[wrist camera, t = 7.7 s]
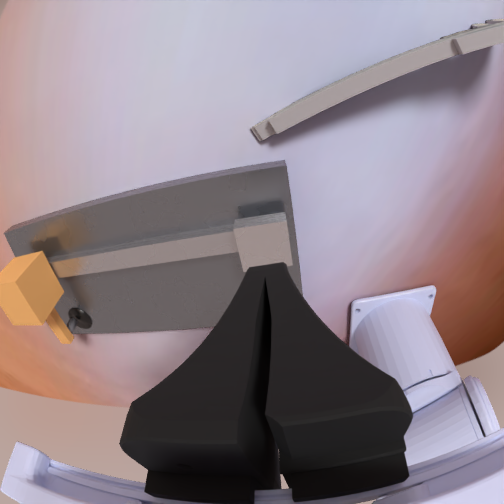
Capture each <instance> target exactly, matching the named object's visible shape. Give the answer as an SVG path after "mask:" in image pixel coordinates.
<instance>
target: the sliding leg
mask: <svg viewBox="0 0 504 504" xmlns="http://www.w3.org/2000/svg"><path fill="white" fill-rule="evenodd" d="M63 293H64V290H63V288H62V287H61V285H60V283H59V281H58V279H57V278H56V276H55V274H54V272H53V270H52V268H51V266H50V264H49V262H48V261H47V259H46V257H45V255H44V253H43V251H39V252H35V253H31V254H27V255H23V256H19V257H15V258H13V259H12V260H11V261H10V263H9V264H8V265H7V266H6V267H5V268H4V269H3V270H2V271H1V272H0V306H1V307H2V309H3V310H4V312H5V313H6V315H7V316H8V318H9V319H10V321H11V322H12V324H13V325H43V324H44V322H45V320H46V322H47V323H48V325H49V326H50V328H51V329H52V330H53V332H54V333H55V335H56V336H57V337H58V339H59V340H60V342H61V343H62V344H71V343H72V341H73V339H74V336H73V335H72V333H73V332H74V330H75V328H76V326H77V324H78V321H77V319H75V318H73V317H71V318H70V319H69V321H68V323H67V325H65V323H64V322H63V320H62V319H61V317H60V315H59V314H58V312H57V311H56V309H55V308H54V307H55V305H56V304H57V302H58V301H59V299H60V298H61V296H62V295H63Z"/></svg>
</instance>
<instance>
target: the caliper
mask: <svg viewBox="0 0 504 504" xmlns="http://www.w3.org/2000/svg"><path fill="white" fill-rule="evenodd" d="M486 23H487V24H482V23H480V24H473V25H472V28H473V29H469V30H465V31H461V32H457V33H454V34H451V35H448V36H444V37H441V38H440V40H437V41H434V42H431V43H428V44H426V45H423V46H420V47H417V48H414V49H412V50H409V51H406V52H404V53H401V54H399V55H396V56H394V57H391V58H389V59H386V60H384V61H381V62H379V63H376V64H374V65H372V66H369V67H367V68H365V69H363V70H360V71H358V72H356V73H354V74H351V75H349V76H347V77H345V78H343V79H340V80H338V81H336V82H334V83H332V84H330V85H328V86H326V87H324V88H322V89H320V90H318V91H316V92H314V93H312V94H310V95H308V96H306V97H304V98H302V99H300V100H298V101H296V102H294V103H292V104H291V105H289V106H287V107H285V108H283V109H282V110H280V111H278V112H277V113H275V114H273V115H271V116H270V117H269V118H267V119H265V120H263V121H262V122H260V123H258V124H256V125H255V126H253V127H252V128H251V130H252V131H253V133H254V134H255V135H256V137H257V138H258V140H259V141H262V140H264V139H266V138H268V137H270V136H272V135H273V134H275V133H277V134H279V133H280V132H282V131H284V130H286V129H288V128H290V127H292V126H294V125H296V124H298V123H300V122H302V121H304V120H305V119H307V118H309V117H311V116H313V115H315V114H317V113H319V112H322V111H324V110H326V109H328V108H330V107H332V106H334V105H336V104H338V103H340V102H342V101H345V100H347V99H349V98H351V97H353V96H355V95H358V94H360V93H362V92H364V91H366V90H369V89H371V88H373V87H376V86H378V85H380V84H383V83H385V82H387V81H390V80H392V79H394V78H397V77H399V76H402V75H404V74H407V73H409V72H412V71H414V70H417V69H420V68H422V67H425V66H428V65H430V64H433V63H436V62H439V61H441V60H444V59H447V58H450V57H453V56H456V55H459V54H460V55H463V54H466V53H470V52H473V51H476V50H479V49H483V48H486V47H489V46H493V45H496V44H500V43H504V19H493V20H487V21H486Z"/></svg>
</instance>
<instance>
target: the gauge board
mask: <svg viewBox="0 0 504 504" xmlns="http://www.w3.org/2000/svg"><path fill="white" fill-rule="evenodd" d="M4 234H5V236H6V239H7V241H8V243H9V245H10V247H11V249H12V251H13V253H14V255H15V257H19V256H23V255H27V254H31V253H35V252H39V251H43V253H44V255H45V257H46V259H47V261H48V262H49V264H50V266H51V268H52V270H53V272H54V274H55V276H56V278H57V279H58V281H59V283H60V285H61V287H62V288H63V290H64V293H63V295H62V296H61V298H60V299H59V301H58V302H57V304H56V305H55V307H54V308H55V309H56V311H57V312H58V314H59V315H60V317H61V319H62V320H63V322H64V323H65V325H67V323H68V321H69V319H70V318H71V317H73V318H75V319H77V321H78V324H77V326H76V328H75V330H74V332H73V333H72V334H89V333H124V332H145V331H163V330H177V329H191V328H203V327H214V326H216V324H217V323H218V321H219V320H220V318H221V317H222V315H223V314H224V312H225V311H226V309H227V308H228V306H229V304H230V302H231V301H232V299H233V297H234V295H235V294H236V292H237V290H238V288H239V286H240V284H241V282H242V280H243V278H244V276H245V273H246V271H247V269H248V268H249V267H254V266H260V265H267V264H273V263H280V262H284V263H285V264H287V268H288V271H289V274H290V276H291V278H292V280H293V282H294V283H295V285H296V287H297V288H298V290H299V292H300V293H301V295H302V296H303V294H302V284H301V275H300V266H299V257H298V249H297V240H296V232H295V224H294V216H293V209H292V201H291V194H290V187H289V180H288V173H287V166H286V163H285V160H283V161H276V162H269V163H263V164H257V165H251V166H245V167H239V168H233V169H228V170H222V171H217V172H212V173H206V174H201V175H196V176H192V177H187V178H182V179H177V180H173V181H168V182H164V183H159V184H155V185H151V186H147V187H143V188H138V189H134V190H130V191H126V192H123V193H119V194H115V195H111V196H107V197H104V198H100V199H96V200H93V201H89V202H86V203H82V204H79V205H76V206H72V207H69V208H66V209H62V210H59V211H56V212H53V213H50V214H47V215H44V216H41V217H38V218H35V219H32V220H29V221H26V222H23V223H20V224H17V225H14V226H12V227H10V228H9V229H8V230H7V231H6V232H5V233H4Z"/></svg>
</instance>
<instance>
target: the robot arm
mask: <svg viewBox="0 0 504 504" xmlns="http://www.w3.org/2000/svg"><path fill="white" fill-rule="evenodd" d="M435 294H436V288H435V286H433V285H431V286H426V287H421V288H416V289H411V290H406V291H401V292H396V293H391V294H385V295H380V296H374V297H369V298H363V299H357V300H354V301H353V302H352V304H351V322H350V339H349V346H348V345H347V344H345V343H344V342H343V341H342V340H341V339H339V338H338V337H337V336H336V335H335V334H334V333H333V332H332V331H331V330H330V329H329V328H328V327H327V326H326V325H325V324H324V323H323V321H322V320H321V319H320V318H319V317H318V316H317V315H316V313H315V312H314V311H313V310H312V308H311V307H310V306H309V305H308V303H307V302H306V300H305V299H304V298H303V296H302V295H301V293H300V292H299V290H298V288H297V287H296V285H295V283H294V282H293V280H292V278H291V276H290V274H289V271H288V268H287V264H285V263H284V262H280V263H273V264H267V265H260V266H254V267H249V268H248V269H247V271H246V273H245V276H244V278H243V280H242V282H241V284H240V286H239V288H238V290H237V292H236V294H235V295H234V297H233V299H232V301H231V302H230V304H229V306H228V308H227V309H226V311H225V312H224V314H223V315H222V317H221V318H220V320H219V321H218V323H217V324H216V326H215V327H214V328H213V330H212V331H211V332H210V334H209V335H208V336H207V337H206V339H205V340H204V341H203V342H202V344H201V345H200V346H199V347H198V348H197V349H196V350H195V351H194V352H193V353H192V355H191V356H190V357H189V358H188V359H187V360H186V361H185V362H184V363H183V364H182V365H180V366H179V367H178V368H177V369H176V370H175V371H174V372H173V373H171V374H170V375H169V376H168V377H167V378H165V379H164V380H163V381H162V382H160V383H159V384H158V385H156V386H155V387H154V388H152V389H151V390H149V391H148V392H146V393H145V394H144V395H142V396H141V397H139V398H138V399H136V400H135V401H133V402H132V403H131V406H130V409H129V412H128V414H127V417H126V421H125V425H124V428H123V432H122V436H121V439H120V443H119V444H120V446H121V448H122V449H123V451H124V452H125V453H126V454H127V455H128V456H130V457H131V458H132V459H134V460H135V461H136V462H138V463H139V464H141V465H142V466H144V467H145V468H146V469H148V474H147V479H146V483H142V482H136V481H131V480H125V479H121V478H116V477H111V476H107V475H103V474H99V473H95V472H91V471H87V470H84V469H80V468H77V467H74V466H70V465H67V464H64V463H61V462H58V461H55V460H52V459H50V458H49V457H48V456H47V455H45V454H44V453H42V452H41V451H39V450H37V449H35V448H33V447H31V446H28V445H26V444H24V443H21V442H16V444H15V447H14V450H13V452H12V455H11V458H10V460H9V463H8V466H7V469H6V472H5V475H4V478H3V481H2V485H1V488H0V490H1V491H2V492H3V493H4V494H6V495H8V496H9V497H11V498H12V499H14V500H16V501H17V502H19V503H21V504H356V503H361V502H366V501H370V500H374V499H376V501H374V502H373V503H372V504H504V428H502V429H500V427H499V423H498V421H497V418H496V416H495V413H494V411H493V408H492V406H491V403H490V401H489V399H488V397H487V394H486V392H485V390H484V388H483V386H482V384H481V382H480V380H479V378H476V377H473V378H472V377H471V376H468V377H466V378H465V379H464V382H465V384H464V382H463V380H462V379H461V377H460V375H459V374H458V372H457V370H456V368H455V366H454V364H453V361H452V359H451V357H450V355H449V353H448V351H447V349H446V347H445V345H444V343H443V341H442V339H441V337H440V335H439V333H438V331H437V329H436V327H435V325H434V324H433V322H432V320H431V318H430V314H431V310H432V306H433V302H434V298H435ZM429 295H430V296H429ZM356 309H358V310H356ZM465 385H466V386H465ZM466 387H467V388H466ZM467 389H468V390H467ZM278 449H279V452H278ZM280 474H283V476H284V478H285V480H286V483H287V484H288V487H289V489H281V479H280Z"/></svg>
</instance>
